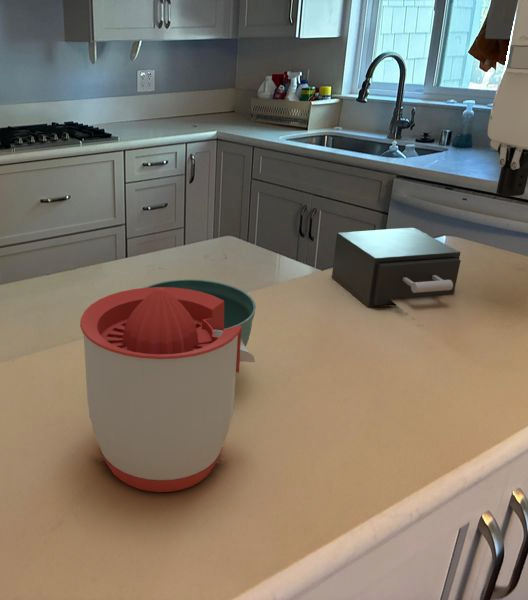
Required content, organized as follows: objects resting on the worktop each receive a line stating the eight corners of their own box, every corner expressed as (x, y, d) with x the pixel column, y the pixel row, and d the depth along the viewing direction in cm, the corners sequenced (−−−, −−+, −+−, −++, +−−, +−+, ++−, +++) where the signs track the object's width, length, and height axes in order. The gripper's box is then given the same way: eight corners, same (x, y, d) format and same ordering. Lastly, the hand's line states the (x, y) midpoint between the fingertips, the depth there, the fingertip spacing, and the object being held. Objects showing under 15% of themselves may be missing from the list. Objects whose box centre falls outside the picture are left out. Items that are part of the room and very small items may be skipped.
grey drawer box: (450, 300, 102) (460, 252, 99) (367, 307, 100) (375, 258, 97) (406, 271, 115) (413, 227, 111) (331, 277, 113) (336, 232, 109)
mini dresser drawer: (469, 309, 97) (478, 269, 94) (389, 316, 95) (396, 275, 92) (410, 271, 112) (416, 236, 109) (340, 277, 110) (345, 241, 108)
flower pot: (176, 427, 72) (177, 345, 67) (106, 369, 84) (102, 296, 80) (276, 385, 79) (283, 309, 75) (198, 338, 92) (200, 270, 88)
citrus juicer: (270, 497, 61) (287, 314, 53) (95, 518, 59) (84, 331, 50) (225, 409, 75) (233, 254, 67) (83, 423, 73) (73, 265, 65)
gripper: (612, 61, 75) (574, 206, 83) (524, 55, 89) (498, 180, 97) (556, 64, 75) (523, 210, 82) (476, 58, 88) (453, 184, 96)
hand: (509, 194), depth 89 cm, fingers closed
